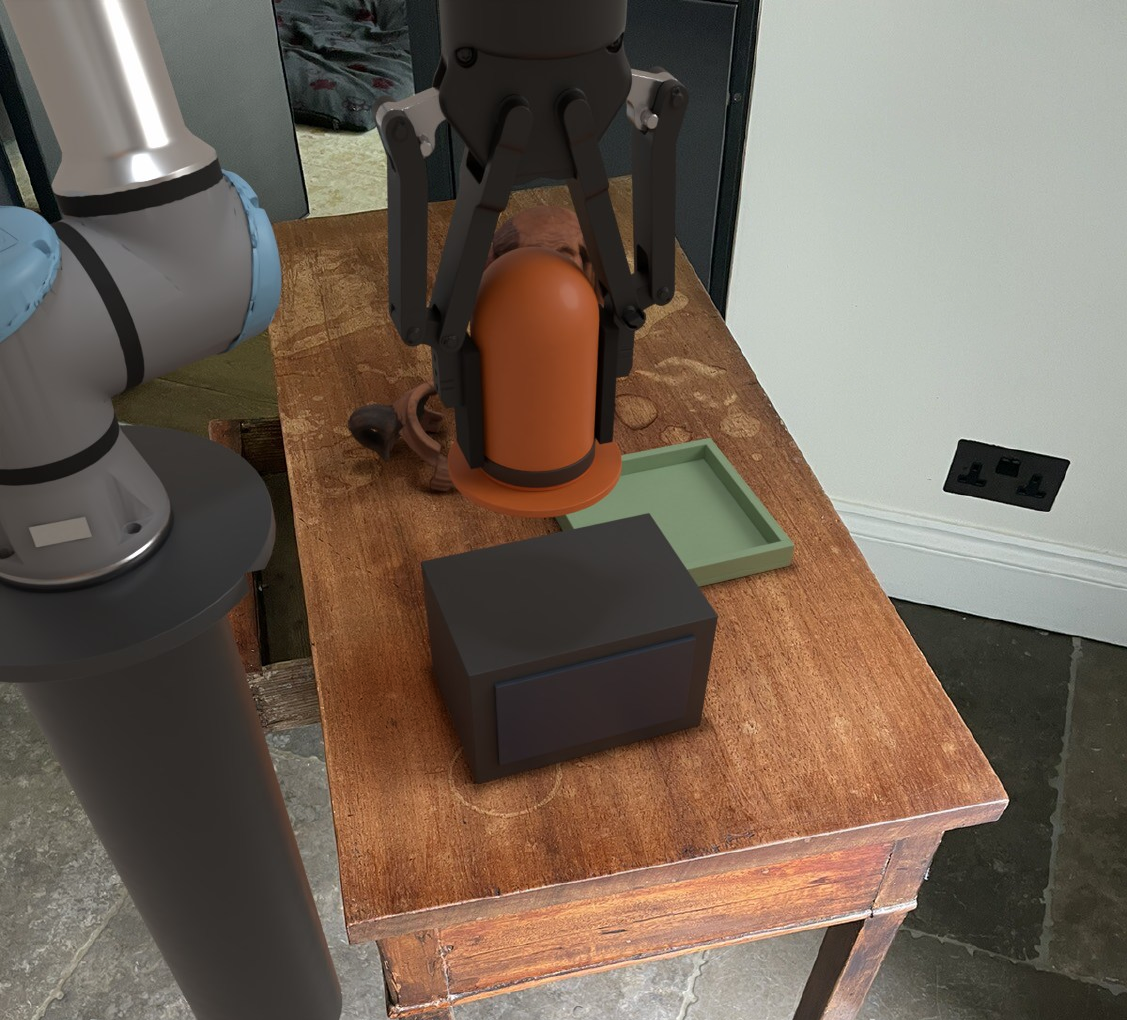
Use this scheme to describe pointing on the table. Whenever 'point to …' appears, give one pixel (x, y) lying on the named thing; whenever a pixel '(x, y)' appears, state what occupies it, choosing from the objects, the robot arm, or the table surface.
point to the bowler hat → (537, 390)
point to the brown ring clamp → (404, 430)
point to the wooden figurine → (545, 237)
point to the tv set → (567, 644)
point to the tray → (695, 511)
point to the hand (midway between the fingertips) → (534, 441)
